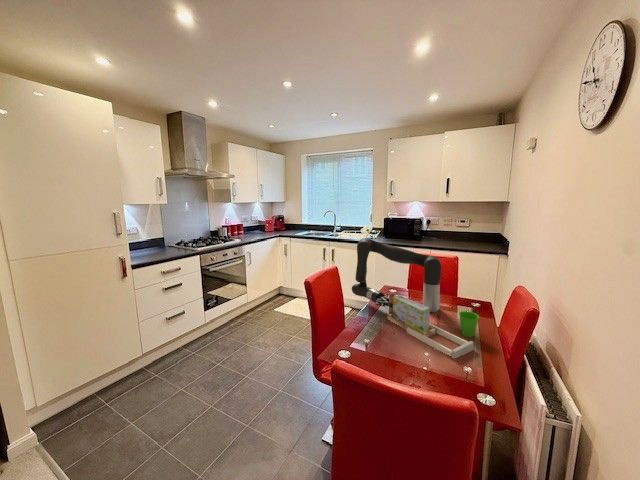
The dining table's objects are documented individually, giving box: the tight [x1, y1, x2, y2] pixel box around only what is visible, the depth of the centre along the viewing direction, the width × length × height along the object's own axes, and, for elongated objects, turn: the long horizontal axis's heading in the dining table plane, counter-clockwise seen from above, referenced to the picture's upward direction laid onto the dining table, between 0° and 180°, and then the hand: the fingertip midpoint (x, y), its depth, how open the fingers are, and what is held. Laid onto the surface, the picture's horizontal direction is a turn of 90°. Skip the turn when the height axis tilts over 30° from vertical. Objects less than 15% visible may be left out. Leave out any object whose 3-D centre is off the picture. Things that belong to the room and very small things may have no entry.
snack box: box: [393, 295, 431, 333], centre depth 143 cm, size 21×6×15 cm, turn 29°
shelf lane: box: [406, 322, 474, 359], centre depth 130 cm, size 14×27×4 cm, turn 29°
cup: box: [458, 310, 480, 338], centre depth 134 cm, size 9×9×11 cm
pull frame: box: [386, 292, 437, 338], centre depth 145 cm, size 10×28×14 cm, turn 29°
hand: (395, 305), depth 154 cm, fingers closed on pull frame, 3 cm apart
